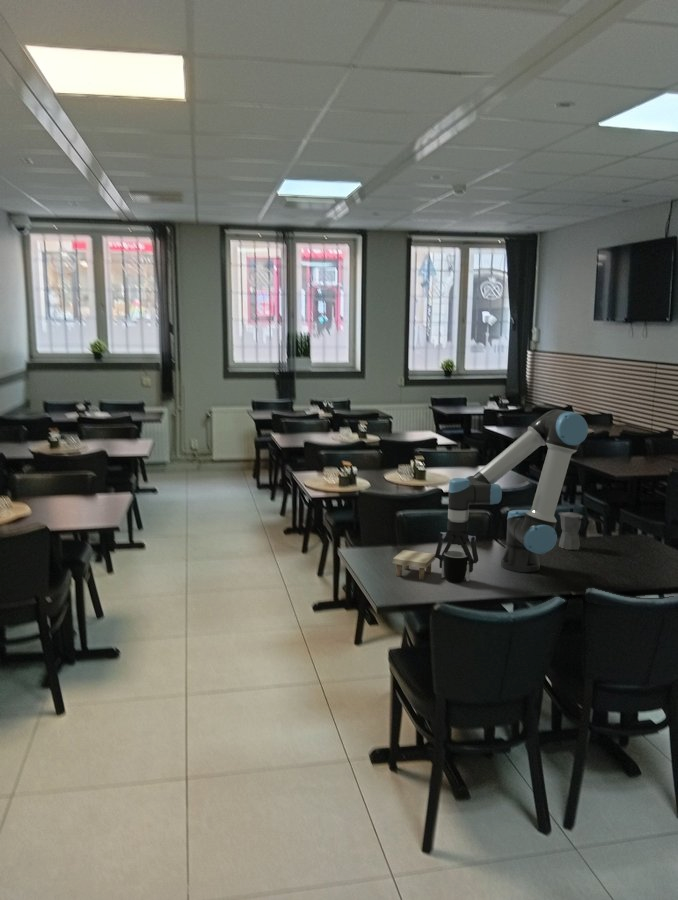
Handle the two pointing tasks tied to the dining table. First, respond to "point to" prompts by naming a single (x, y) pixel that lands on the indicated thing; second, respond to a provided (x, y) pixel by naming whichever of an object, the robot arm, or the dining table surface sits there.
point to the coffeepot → (571, 529)
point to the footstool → (414, 562)
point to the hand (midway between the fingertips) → (455, 578)
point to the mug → (455, 566)
